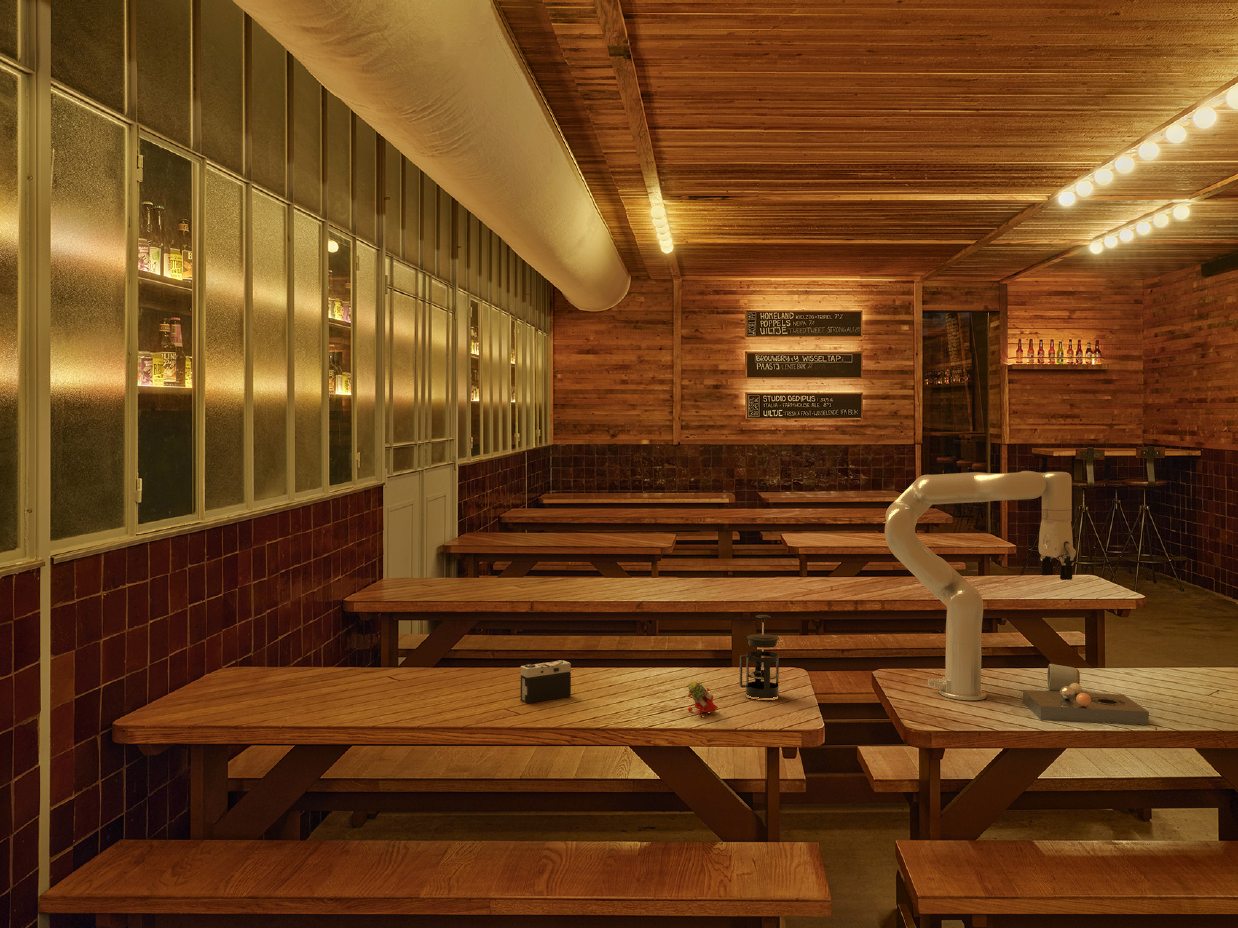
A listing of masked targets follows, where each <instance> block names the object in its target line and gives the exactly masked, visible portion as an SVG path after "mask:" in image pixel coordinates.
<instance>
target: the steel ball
mask: <svg viewBox="0 0 1238 928" xmlns="http://www.w3.org/2000/svg"><path fill="white" fill-rule="evenodd" d="M1059 692H1060V694H1061V696H1062V697H1063V698H1064V699H1066V700H1070V699H1072V698H1073V697H1074V695H1075V692H1074V690H1073V689H1072V688H1071V687H1069V686H1065V687H1062V688H1061V690H1060V691H1059Z"/></svg>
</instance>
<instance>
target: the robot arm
mask: <svg viewBox="0 0 1238 928" xmlns="http://www.w3.org/2000/svg"><path fill="white" fill-rule="evenodd" d="M1072 487H1073V486H1072V475H1071V474H1070V473H1069V472H1066V471H1045V472H1036V471H1033V470H1032V471H1031V470H1022V471H1019V472H1004V473H1003V472H1002V473H989V472H979V471H978V472H960V473H959V472H957V473H943V474H941V473H940V474H924V475H921V476H919V477H917V478H916V479H915V480H914V482H912V483H911V485H909V487H907V488H906V489H905V490H904V492H902V494H900V495H899V496H898V497H897V498H896V499H895V500H894V501H893V502H892V503H891V504H890V505H889V506H888V508H887V509H886V512H885V516H884V517H885V525H884V538H885V542H886V545H887V548H888V549H889V550H890V552H891V554H893V556H894V557H895V558H896V559H897V560H898V561H899V562H900V563H901V564H902V565H903V566H904V567H905V568H906V569H907V570H908V571H909V572H910V573H911V574H912V575H913V576H915V578H916V579H917V580H918V581H919V583H920V584H921V585H922V586H923V587H924V588H926V589H927V590H928V591H930V592H931V593H932V595H934V597H935V598H937V599H938V600H939V601H940V602H941V603H942V604H943V605H944V606H945V607H946V620H945V621H946V622H945V676H942V678H939V679H934V678H933V679H932V678H928V679H927V684H928V687H934V688H939V694H940V695H942V696H943V697H946V698H949V699H954V700H959V701H981V700H985V699H986V698H987V695H988V694H987V692H986V691H984V690H983V689H982V633H983V632H982V630H983V629H982V628H983V618H984V617H983V616H984V601H983V597H982V595H981V593H980V592H979V590H978V589H977V588H975V586H973V585H972V584H971V583H969V581H967V579H965V578H964V577H963V576H962V574H960V573H959V572H958V571H957V570H956V569H955V568H954V567H952V565H950V564H949V563H948V562H947V561H946V560H945V558H942V557H941V556H938V555H937V554H936V553H935V552H934V551H932V550H931V549H930V548H929V547H928V546H927V545H926V544H925V542H923V541H922V540H921V539H920V538H919V537H918V535H917V533H916V527H917V526H916V525H917V522H918V520H919V518H920V517H921V516H923V515H924V514H925V513H926V512H927V511H928V510H929V509H930V507H931V506H933V505H944V504H945V505H946V504H948V505H949V504H964V503H965V504H966V503H985V502H994V501H997V502H998V501H1014V500H1015V501H1017V500H1018V501H1019V500H1033V499H1037V498H1039V497H1041V521H1040V527H1039V535H1038V544H1037V547H1038V554H1039V556H1040V558H1039V559H1040V561H1041V562H1040V564H1041V565H1040V572H1041V573H1040V574H1041V576H1053V575H1054V561H1053V558H1058V559H1059V561H1060V563H1061V564H1060V565H1059V580H1061V581H1072V580H1073V566H1074V564H1075V563H1074V561H1075V560H1076V554H1077V550H1076V549H1075V548H1074V546H1073V545H1074V542H1073V539H1074V538H1073V530H1072V529H1073V528H1072V523H1071V522H1072V520H1073V519H1072V517H1073V516H1072V514H1073V513H1072V512H1073V511H1072V509H1073V507H1072V506H1073V505H1072V504H1073V503H1072V500H1073V499H1072V498H1073V497H1072V493H1073V491H1072V490H1073V489H1072Z"/></svg>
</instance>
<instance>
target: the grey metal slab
mask: <svg viewBox="0 0 1238 928" xmlns="http://www.w3.org/2000/svg"><path fill="white" fill-rule="evenodd" d="M1080 693H1081V692H1080ZM1080 693H1079V694H1080ZM1085 693H1086V694H1088V695H1089V696H1090V698H1091V703H1090V705H1089V706H1086V707H1083V706H1080V705H1079V704H1078V703H1077V701H1076V697H1077V695H1078V694H1075V695H1074V697H1073V698H1072V699H1070V700H1066V699H1064V698H1063V697H1062V696H1061V694H1060V691H1049V690H1035V689H1022V704H1024V705H1025V706H1026V707H1027V708H1028V709H1029V710H1030V711H1031V712H1032V713H1033V714H1034V715H1035V716H1036V717H1037V718H1038V719H1039V720H1041V721H1057V722H1058V721H1059V722H1060V721H1061V722H1074V723H1075V722H1077V723H1081V722H1082V723H1094V722H1100V723H1099V724H1103V723H1102V722H1105V723H1104V724H1108V723H1107V722H1110V723H1109V724H1113V723H1121V724H1120V725H1132V724H1145V725H1144V726H1150V725H1149V723H1150V712H1149V710H1147V709H1145V708H1144V707H1143V706H1141V705H1140V704H1138V703H1136V701H1134V700H1132V699H1131V698H1129V697H1128V696H1126V695H1125V694H1120V693H1119V694H1118V693H1101V692H1099V693H1098V692H1097V693H1095V692H1085Z"/></svg>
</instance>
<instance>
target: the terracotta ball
mask: <svg viewBox="0 0 1238 928" xmlns="http://www.w3.org/2000/svg"><path fill="white" fill-rule="evenodd" d="M1086 693H1087V692H1080V694H1078V695H1077V697H1076V701H1077V703H1078V704H1079V705H1080V706H1083V707H1086V706H1089V705H1090V703H1091V698H1090V696H1089V695H1088V694H1086Z"/></svg>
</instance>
